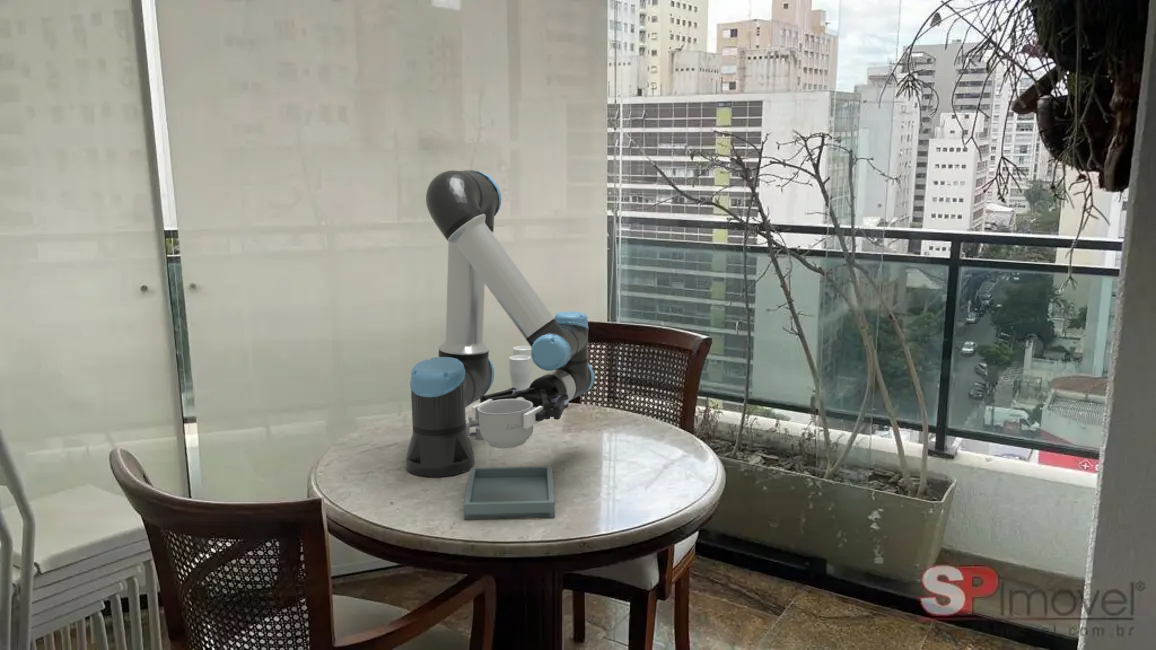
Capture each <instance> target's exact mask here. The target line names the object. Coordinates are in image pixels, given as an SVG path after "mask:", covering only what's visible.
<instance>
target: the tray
mask: <svg viewBox="0 0 1156 650" xmlns="http://www.w3.org/2000/svg"><path fill="white" fill-rule="evenodd" d="M552 468H553V467H552V465H530V466H527V465H526V466H525V465H524V466H486V467H485V466H482V467H481V466H480V467H478V466H477V467H474V466H473V467H472V468H471V469H470V471H469V477H468V481H467V486H466V492H465V498H464V502H463V503H464V504H463V514H464V518H463V519H464V520H467V521H468V520H499V519H500V520H501V519H502V520H505V519H506V518H509V519H534V518H535V519H536V518H537V519H539V518H540V519H541V518H542V519H543V518H547V519H548V518H549V519H550V518H555V516H556V515H555V513H556V511H555V510H556V509H555V505H556V503H555V490H554V479H553V469H552Z"/></svg>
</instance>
